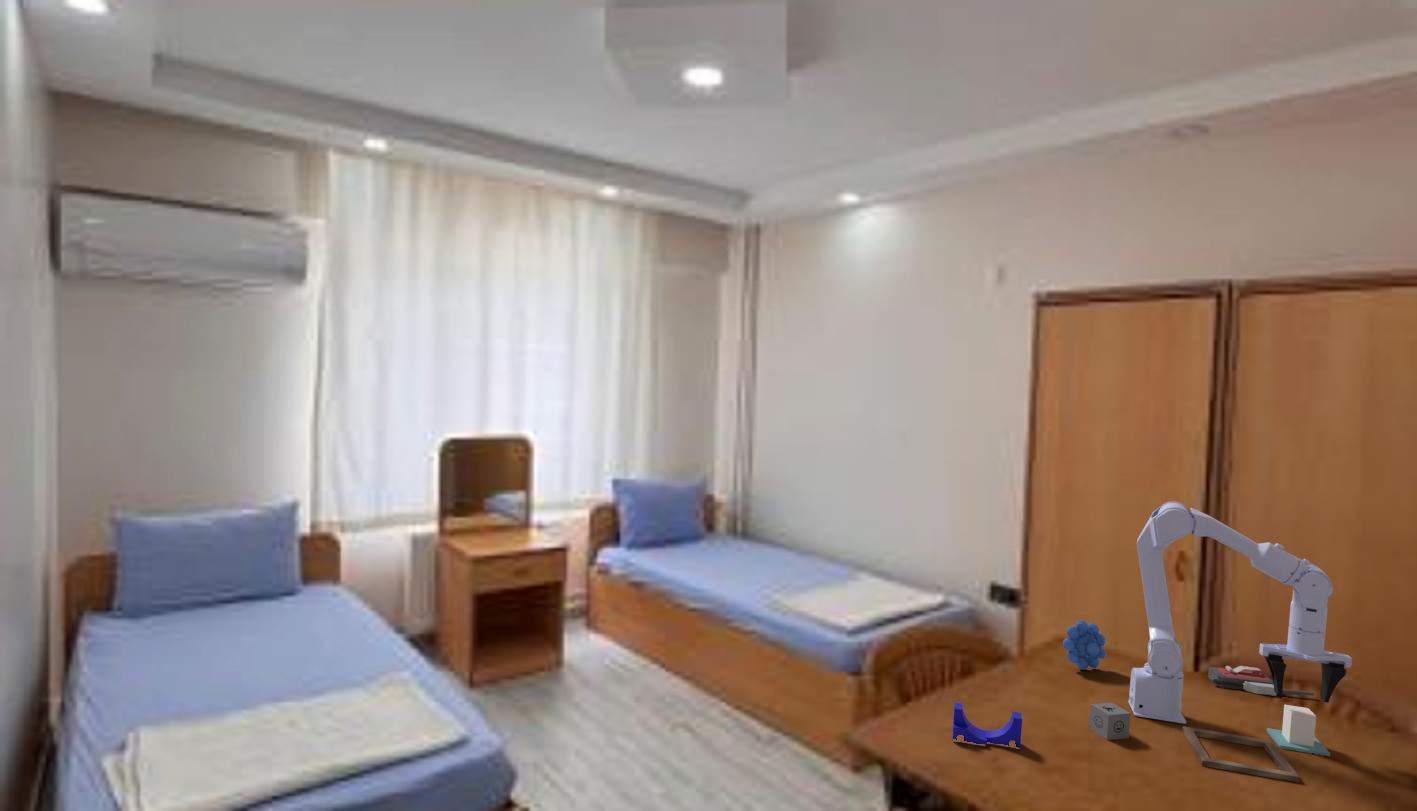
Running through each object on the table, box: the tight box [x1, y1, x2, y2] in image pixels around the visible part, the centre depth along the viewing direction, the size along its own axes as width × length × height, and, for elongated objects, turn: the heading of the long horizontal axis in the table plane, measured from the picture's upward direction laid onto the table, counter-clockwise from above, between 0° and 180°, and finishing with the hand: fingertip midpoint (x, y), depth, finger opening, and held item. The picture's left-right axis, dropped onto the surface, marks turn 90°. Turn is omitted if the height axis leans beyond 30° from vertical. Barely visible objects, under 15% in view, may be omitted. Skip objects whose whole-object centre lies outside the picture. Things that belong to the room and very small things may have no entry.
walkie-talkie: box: [1207, 665, 1315, 697], centre depth 185 cm, size 9×4×20 cm
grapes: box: [1062, 619, 1107, 671], centre depth 191 cm, size 12×7×12 cm, turn 104°
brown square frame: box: [1182, 726, 1301, 784], centre depth 151 cm, size 15×15×1 cm
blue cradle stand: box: [952, 702, 1023, 749], centre depth 152 cm, size 12×4×6 cm, turn 73°
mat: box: [1266, 727, 1331, 757], centre depth 157 cm, size 8×8×1 cm
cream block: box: [1281, 704, 1317, 747], centre depth 157 cm, size 4×4×6 cm
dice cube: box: [1088, 702, 1131, 741], centre depth 158 cm, size 5×5×5 cm
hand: (1301, 696), depth 157 cm, fingers open, 7 cm apart
